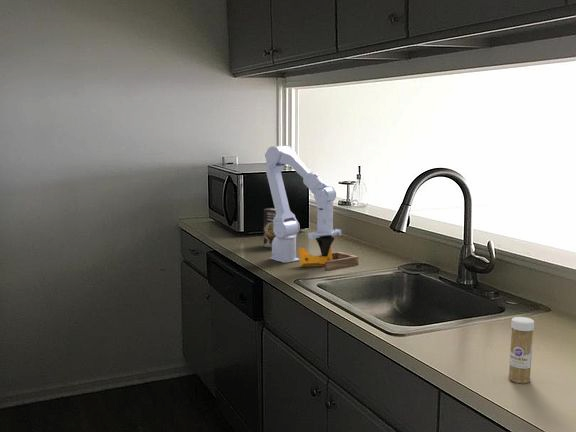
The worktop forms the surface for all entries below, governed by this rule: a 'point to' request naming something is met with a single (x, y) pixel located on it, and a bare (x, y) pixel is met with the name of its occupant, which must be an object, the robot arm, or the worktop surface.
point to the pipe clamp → (312, 258)
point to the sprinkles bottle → (521, 349)
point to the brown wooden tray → (340, 260)
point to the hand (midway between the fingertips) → (324, 256)
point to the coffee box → (269, 226)
